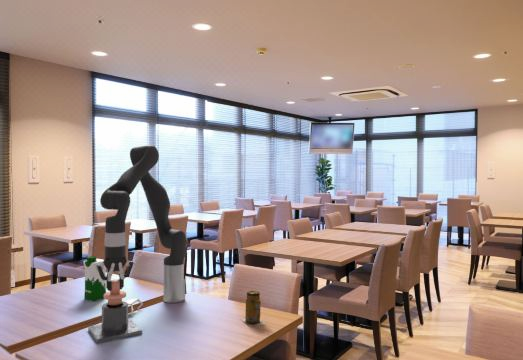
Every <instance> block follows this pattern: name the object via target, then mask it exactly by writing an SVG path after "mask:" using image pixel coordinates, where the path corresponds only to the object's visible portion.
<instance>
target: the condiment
mask: <svg viewBox="0 0 523 360" xmlns="http://www.w3.org/2000/svg"><path fill="white" fill-rule="evenodd" d="M260 296H261V295H260V291H257V290H249V291H247V292H246V298H245V316H244V317H245V318H241V319H240V320H241V321H242V322H244V324H246V325H247V326H249V327H256V326H261V325H262V326H263V325H266V324H267V323H265V322H264V321H263V320H261V304H262V303H261V298H260Z"/></svg>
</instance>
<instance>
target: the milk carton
mask: <svg viewBox="0 0 523 360" xmlns="http://www.w3.org/2000/svg"><path fill="white" fill-rule="evenodd" d="M103 261H104V259H100V258H97V256H95V255H91V256H87V257H86V260H83V262H82V263H83V267H84V298H83V299H84V300H87V301H90V302H97V301H100V300H103V299H104V294H105V293H107V288H106V280H102V279H101V277H100V275H99V272H98V270H97V268H96V265H97V264H98V265H99V264H101V263H103ZM103 273H104V275H105V276H106V275H107V268H106V267H105V265H104V266H103ZM104 300H105V299H104Z"/></svg>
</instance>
